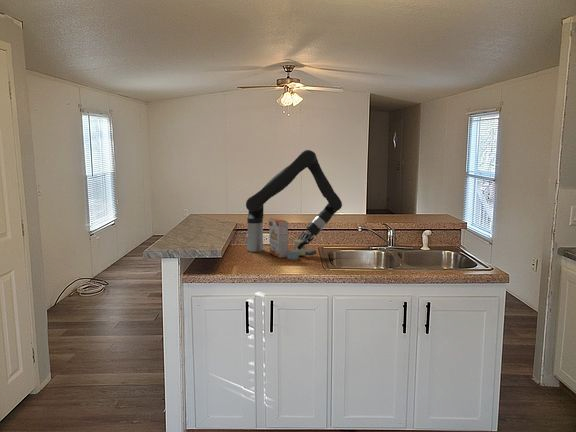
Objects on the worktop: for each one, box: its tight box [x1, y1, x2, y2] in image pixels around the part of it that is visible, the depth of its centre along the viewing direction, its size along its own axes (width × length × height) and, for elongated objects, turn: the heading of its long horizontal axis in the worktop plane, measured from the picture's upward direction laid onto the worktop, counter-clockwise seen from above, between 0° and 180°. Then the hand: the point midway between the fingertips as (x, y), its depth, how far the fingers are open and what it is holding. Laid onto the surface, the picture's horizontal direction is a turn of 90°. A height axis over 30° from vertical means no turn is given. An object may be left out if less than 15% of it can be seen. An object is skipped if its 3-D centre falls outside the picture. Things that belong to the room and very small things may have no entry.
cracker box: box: [268, 217, 289, 259], centre depth 280 cm, size 14×6×21 cm, turn 25°
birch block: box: [293, 239, 306, 256], centre depth 279 cm, size 5×5×8 cm
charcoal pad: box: [304, 248, 317, 256], centre depth 288 cm, size 9×8×2 cm
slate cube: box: [287, 249, 300, 261], centre depth 273 cm, size 4×4×4 cm
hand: (296, 247), depth 279 cm, fingers closed on birch block, 5 cm apart
